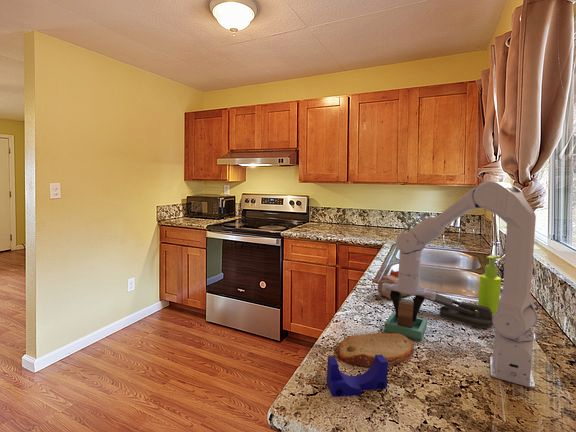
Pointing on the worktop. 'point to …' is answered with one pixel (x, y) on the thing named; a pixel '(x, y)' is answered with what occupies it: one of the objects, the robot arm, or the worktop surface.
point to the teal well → (412, 333)
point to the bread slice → (375, 349)
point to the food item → (390, 280)
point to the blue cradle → (356, 378)
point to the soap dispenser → (490, 286)
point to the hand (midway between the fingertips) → (406, 318)
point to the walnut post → (406, 313)
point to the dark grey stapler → (464, 312)
